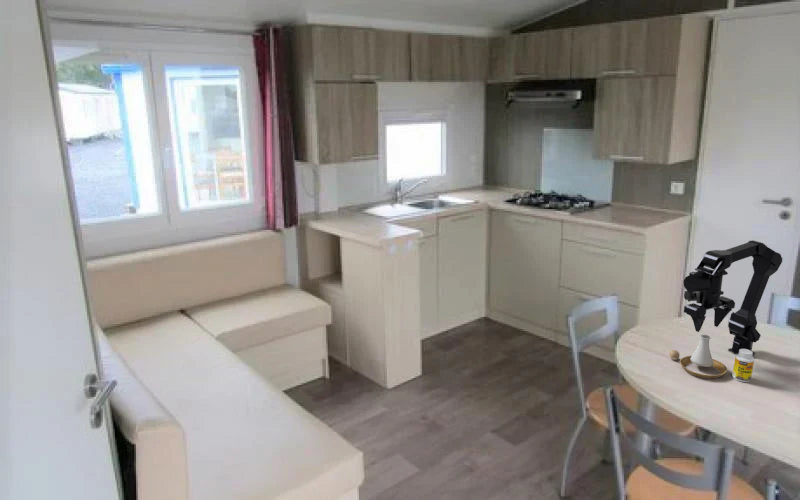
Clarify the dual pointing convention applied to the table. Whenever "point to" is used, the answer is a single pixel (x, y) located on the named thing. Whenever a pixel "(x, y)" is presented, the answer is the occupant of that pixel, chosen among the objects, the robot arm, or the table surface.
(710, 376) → the plant saucer
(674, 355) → the beige ball
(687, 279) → the robot arm
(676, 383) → the table surface
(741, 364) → the supplement bottle
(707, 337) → the flask
